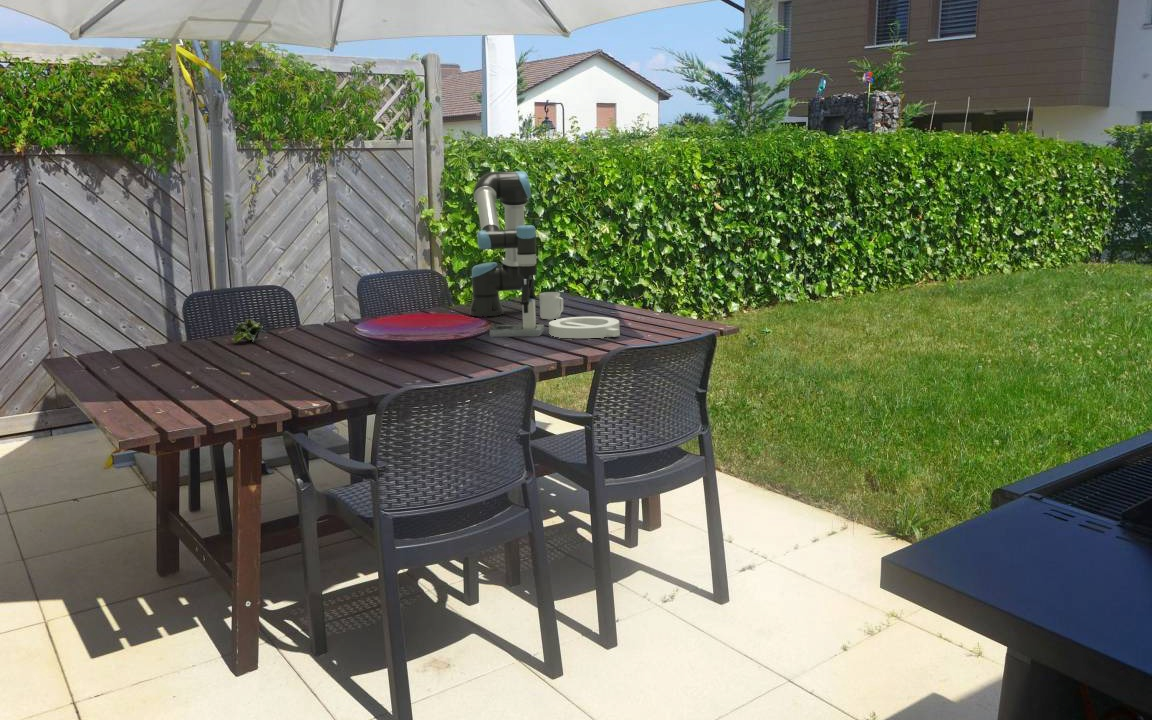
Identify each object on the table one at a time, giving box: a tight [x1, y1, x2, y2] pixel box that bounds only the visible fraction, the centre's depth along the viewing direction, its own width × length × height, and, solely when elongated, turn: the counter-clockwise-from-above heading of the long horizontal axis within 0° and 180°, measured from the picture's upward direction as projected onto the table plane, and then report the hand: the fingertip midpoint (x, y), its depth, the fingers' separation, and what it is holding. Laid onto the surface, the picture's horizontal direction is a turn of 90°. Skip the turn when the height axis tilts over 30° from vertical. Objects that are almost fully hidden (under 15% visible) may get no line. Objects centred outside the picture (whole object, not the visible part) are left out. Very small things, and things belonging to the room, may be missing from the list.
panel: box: [489, 323, 545, 338], centre depth 375 cm, size 13×20×2 cm, turn 84°
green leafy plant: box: [232, 318, 266, 343], centre depth 371 cm, size 11×11×12 cm
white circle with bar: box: [548, 316, 621, 339], centre depth 372 cm, size 28×28×5 cm
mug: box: [538, 291, 564, 321], centre depth 407 cm, size 12×9×11 cm
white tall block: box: [521, 299, 537, 329], centre depth 373 cm, size 4×4×14 cm
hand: (529, 318), depth 374 cm, fingers open, 13 cm apart
